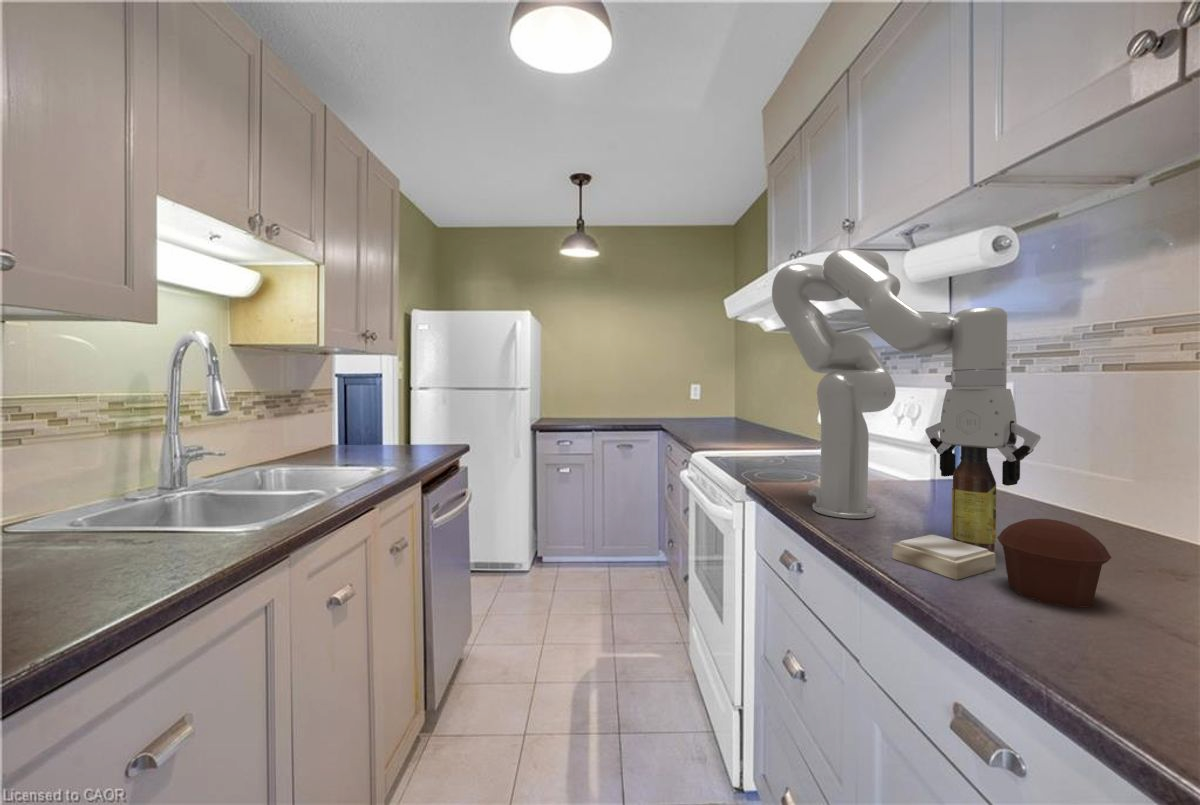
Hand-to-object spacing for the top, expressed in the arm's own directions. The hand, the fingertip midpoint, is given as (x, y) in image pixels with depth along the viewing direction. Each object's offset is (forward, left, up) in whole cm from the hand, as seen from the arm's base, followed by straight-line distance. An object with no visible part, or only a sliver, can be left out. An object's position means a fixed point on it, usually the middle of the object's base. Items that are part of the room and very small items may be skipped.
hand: (977, 479), depth 88 cm
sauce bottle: (0, 0, -12) cm, 12 cm away
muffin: (+15, -10, -13) cm, 22 cm away
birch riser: (+2, -12, -12) cm, 17 cm away
